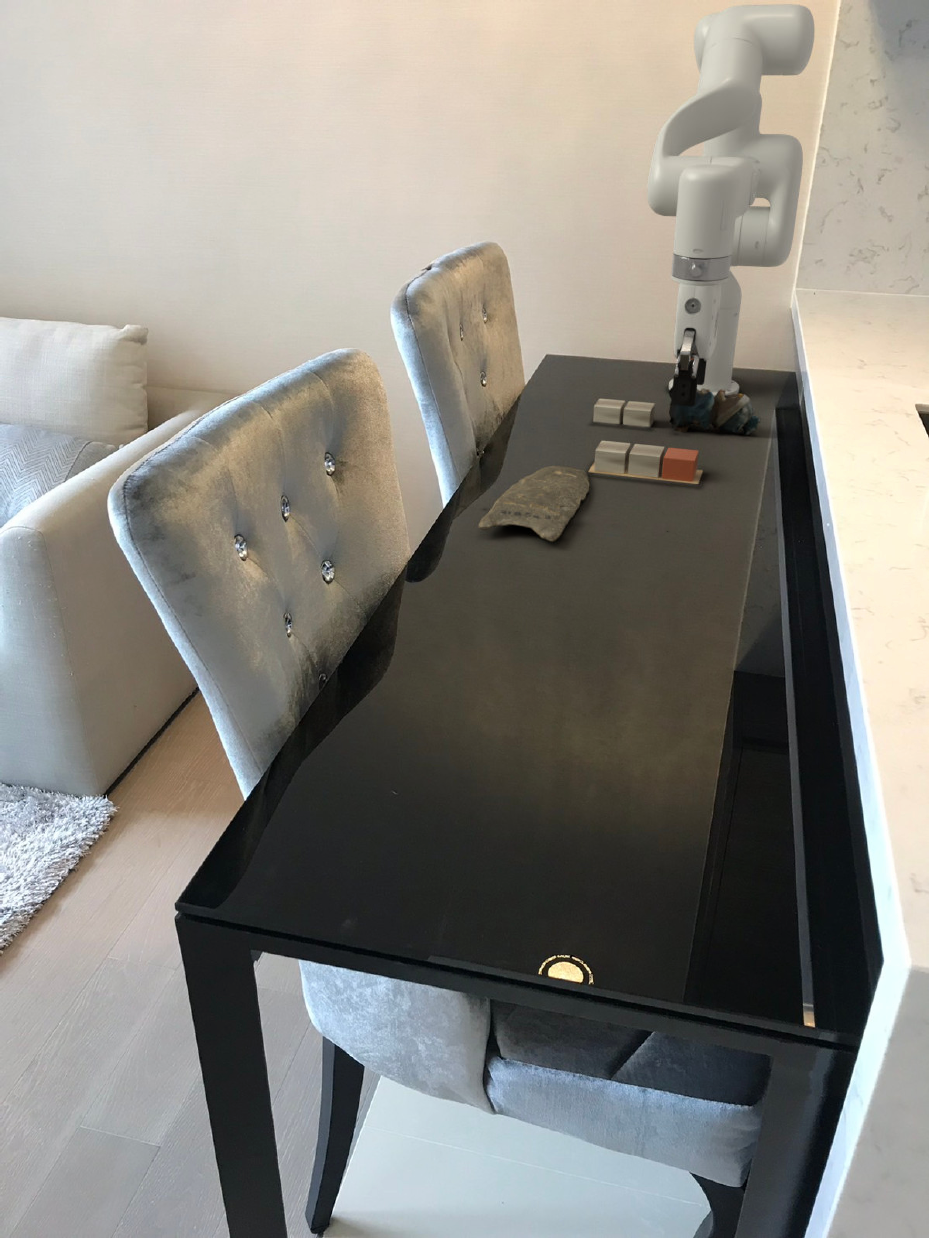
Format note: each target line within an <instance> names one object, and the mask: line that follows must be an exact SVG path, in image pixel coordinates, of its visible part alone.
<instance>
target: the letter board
mask: <svg viewBox="0 0 929 1238" xmlns="http://www.w3.org/2000/svg"><path fill="white" fill-rule="evenodd" d="M594 468H595V461H594V462H593V463H592V465H590V468H589V469H588V473H593V474H603V475H612V476H622V477H630V478H639V479H649V480H657V481H666V482H667V481H668V482H674V483H684V484H685V483H686V484H694V485H699V483H700V480H701V478H702V474H703V470H704V469H697V470H696V473H695V476H694V479H693V481H682V480H673V479H664V478H662V471H663V468H662V470H661V472H660V474H659V477H658V478H656V477H647V476H638V475H629V474H628V468H629V465H628V467H627V469H626V471H625V472H624V474H620V473H611V472H602V471H594Z"/></svg>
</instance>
